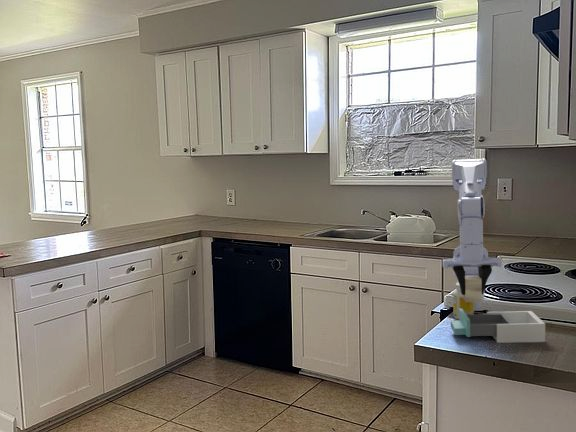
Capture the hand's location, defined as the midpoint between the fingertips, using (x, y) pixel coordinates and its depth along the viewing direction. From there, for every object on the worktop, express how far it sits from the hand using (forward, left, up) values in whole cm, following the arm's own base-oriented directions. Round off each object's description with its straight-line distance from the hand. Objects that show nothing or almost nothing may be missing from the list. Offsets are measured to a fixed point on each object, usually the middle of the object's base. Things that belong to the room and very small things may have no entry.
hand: (472, 293), depth 142 cm
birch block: (0, 0, -2) cm, 2 cm away
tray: (+8, 0, -7) cm, 11 cm away
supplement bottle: (-6, -1, -9) cm, 11 cm away
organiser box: (+8, +8, -9) cm, 14 cm away
